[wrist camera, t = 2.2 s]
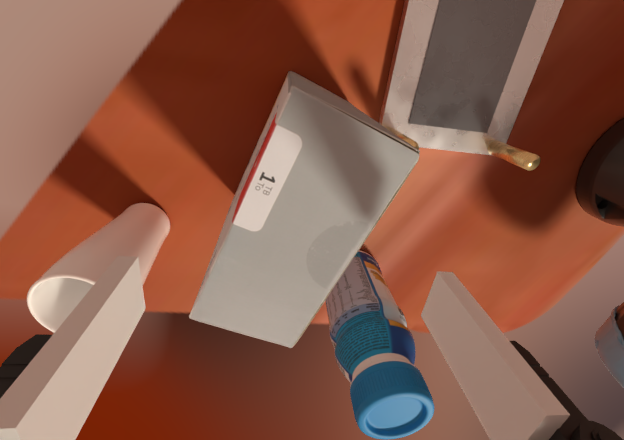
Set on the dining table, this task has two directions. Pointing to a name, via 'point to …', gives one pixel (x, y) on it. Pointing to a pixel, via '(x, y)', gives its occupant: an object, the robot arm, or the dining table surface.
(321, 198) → the hard drive box
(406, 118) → the mounting plate
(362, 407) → the beverage bottle
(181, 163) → the dining table surface
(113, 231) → the drinking glass
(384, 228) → the dining table surface
